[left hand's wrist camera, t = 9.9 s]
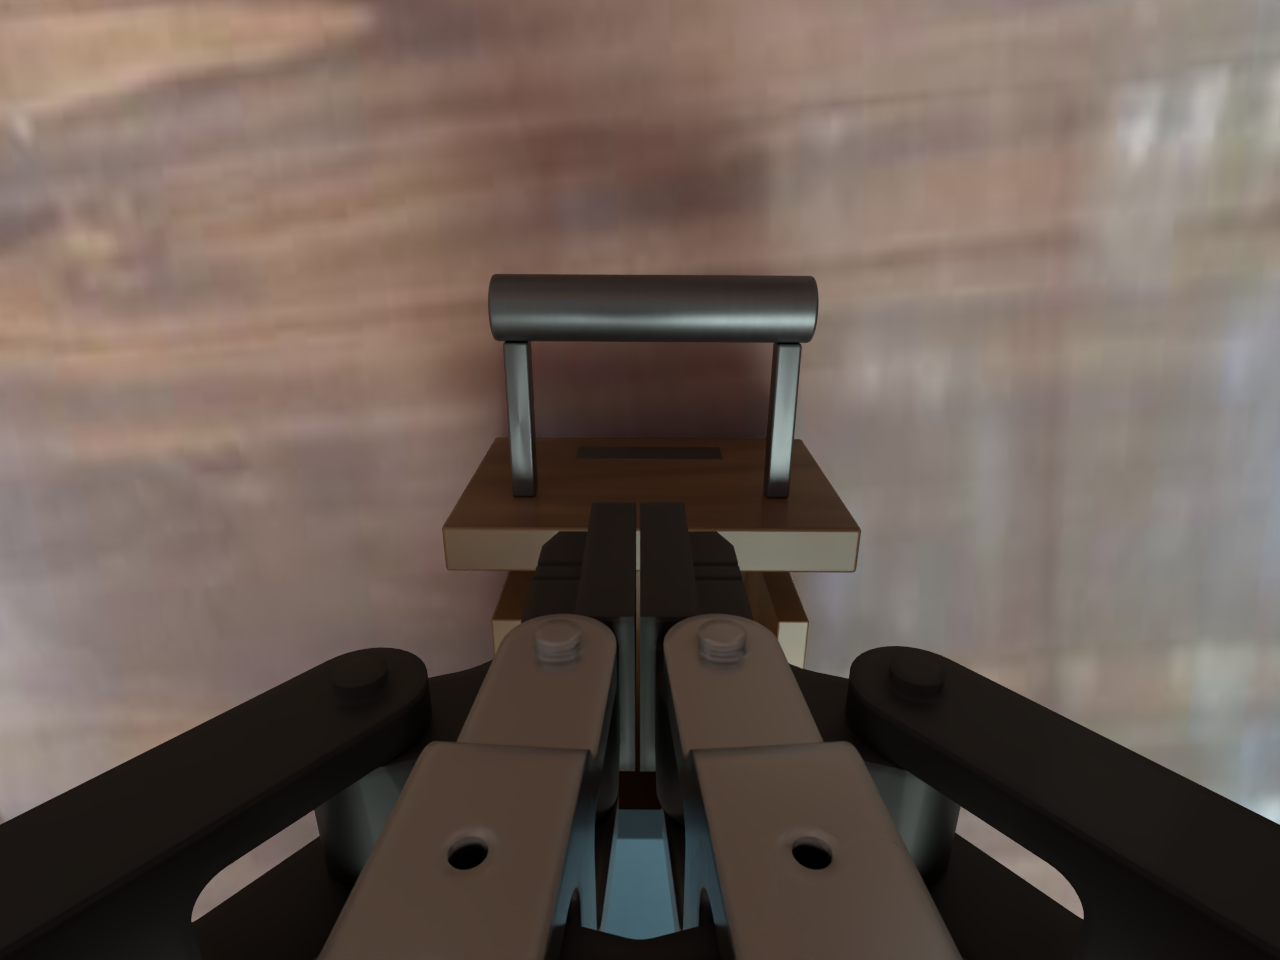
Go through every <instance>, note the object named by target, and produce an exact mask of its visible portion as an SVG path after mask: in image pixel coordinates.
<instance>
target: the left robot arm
mask: <svg viewBox="0 0 1280 960" xmlns="http://www.w3.org/2000/svg"><path fill="white" fill-rule="evenodd" d="M635 714H636V502H592V506H591V512H590V518H589V525H588V531H559V532H558V533H557V534H555V535H554V536H553V537H552V538H551V539H550V540H548V541H547V542H546V543H545V544H544V545H543V546H542V549H541V552H540V556H539V559H538V566H536V570H535V574H534V580H533V581H532V584H531V588H530V591H529V595H528V598H527V602H526V606H525V609H524V613H523V616H522V620H521V623H520V624H519V625H517V626H516V627H514V628H513V629H512V630H510V631H509V632H508V633H507V634H506V635H505V636H504V638H503V639H502V641H501V643H500V645H499V647H498V650H497V652H496V654H495V656H494V659H493V660H491V661H489V662H487V663H485V664H482V665H480V666H477V667H474V668H471V669H468V670H464V671H460V672H456V673H451V674H446V675H441V676H436V677H431V678H428V675H427V669H426V666H425V664H424V663H423V661H422V660H421V659H420V658H418V657H417V656H416V655H414V654H412V653H410V652H407V651H404V650H400V649H394V648H369V649H363V650H357V651H353V652H349V653H346V654H343V655H340V656H337V657H335V658H333V659H331V660H328V661H326V662H324V663H322V664H320V665H318V666H316V667H314V668H312V669H310V670H308V671H306V672H304V673H302V674H300V675H298V676H296V677H294V678H292V679H290V680H288V681H286V682H284V683H282V684H280V685H278V686H276V687H274V688H272V689H270V690H268V691H266V692H264V693H262V694H260V695H258V696H256V697H254V698H252V699H250V700H248V701H246V702H244V703H242V704H240V705H238V706H236V707H234V708H232V709H230V710H228V711H226V712H224V713H222V714H220V715H218V716H216V717H214V718H212V719H210V720H208V721H206V722H204V723H202V724H200V725H198V726H196V727H194V728H192V729H191V730H189V731H187V732H185V733H183V734H181V735H179V736H177V737H175V738H173V739H171V740H169V741H167V742H165V743H163V744H161V745H159V746H157V747H155V748H153V749H151V750H149V751H147V752H145V753H143V754H141V755H139V756H137V757H135V758H133V759H131V760H129V761H127V762H125V763H123V764H121V765H119V766H117V767H115V768H113V769H111V770H109V771H107V772H105V773H103V774H101V775H99V776H97V777H95V778H93V779H91V780H89V781H87V782H85V783H83V784H81V785H79V786H77V787H75V788H73V789H71V790H69V791H67V792H65V793H63V794H61V795H59V796H57V797H55V798H53V799H51V800H49V801H47V802H45V803H43V804H41V805H39V806H37V807H35V808H33V809H31V810H29V811H27V812H25V813H23V814H21V815H19V816H17V817H15V818H13V819H11V820H9V821H7V822H5V823H3V824H1V825H0V960H1280V825H1279V824H1277V823H1275V822H1273V821H1271V820H1269V819H1267V818H1265V817H1263V816H1261V815H1259V814H1257V813H1255V812H1253V811H1251V810H1249V809H1247V808H1245V807H1243V806H1241V805H1239V804H1237V803H1235V802H1233V801H1231V800H1229V799H1227V798H1225V797H1223V796H1221V795H1219V794H1217V793H1215V792H1213V791H1211V790H1209V789H1207V788H1205V787H1203V786H1201V785H1199V784H1197V783H1195V782H1193V781H1191V780H1189V779H1187V778H1185V777H1183V776H1181V775H1179V774H1177V773H1175V772H1173V771H1171V770H1169V769H1167V768H1165V767H1163V766H1161V765H1159V764H1157V763H1155V762H1153V761H1151V760H1149V759H1147V758H1145V757H1143V756H1141V755H1139V754H1137V753H1135V752H1133V751H1131V750H1129V749H1127V748H1125V747H1123V746H1121V745H1119V744H1117V743H1115V742H1113V741H1111V740H1109V739H1107V738H1105V737H1103V736H1101V735H1099V734H1097V733H1095V732H1093V731H1091V730H1089V729H1087V728H1085V727H1083V726H1081V725H1079V724H1077V723H1076V722H1074V721H1072V720H1070V719H1068V718H1066V717H1064V716H1062V715H1060V714H1058V713H1056V712H1054V711H1052V710H1050V709H1048V708H1046V707H1044V706H1042V705H1040V704H1038V703H1036V702H1034V701H1032V700H1030V699H1028V698H1026V697H1024V696H1022V695H1020V694H1018V693H1016V692H1014V691H1012V690H1010V689H1008V688H1006V687H1004V686H1002V685H1000V684H998V683H996V682H994V681H992V680H990V679H988V678H986V677H984V676H982V675H980V674H978V673H976V672H974V671H972V670H970V669H968V668H966V667H964V666H962V665H960V664H958V663H956V662H954V661H952V660H950V659H948V658H945V657H943V656H941V655H938V654H935V653H932V652H929V651H926V650H922V649H917V648H911V647H901V646H887V647H880V648H875V649H872V650H868V651H866V652H864V653H862V654H861V655H859V656H858V657H857V658H856V659H855V660H854V661H853V663H852V665H851V668H850V675H849V679H847V678H842V677H837V676H832V675H827V674H823V673H818V672H813V671H809V670H805V669H802V668H800V667H797V666H794V665H792V664H790V663H788V661H787V659H786V656H785V654H784V652H783V650H782V647H781V645H780V643H779V641H778V639H777V638H776V636H775V635H774V634H773V633H772V632H771V631H770V630H768V629H767V628H766V627H764V626H763V625H761V624H759V623H757V622H755V621H754V620H753V616H752V612H751V608H750V605H749V601H748V597H747V594H746V590H745V586H744V582H743V580H742V575H741V571H740V568H739V566H738V560H737V556H736V553H735V549H734V546H733V545H732V544H731V543H730V542H729V541H727V540H726V539H725V538H724V537H723V536H722V535H720V534H719V533H718V532H717V531H688V526H687V519H686V512H685V505H684V502H640V771H656V791H657V797H658V800H659V802H660V804H661V827H662V835H663V843H664V851H665V859H666V867H667V874H668V882H669V890H670V898H671V906H672V914H673V922H674V929H675V932H674V933H670V934H666V935H662V936H658V937H655V938H649V939H631V938H625V937H622V936H618V935H614V934H610V933H606V932H605V929H606V922H607V914H608V906H609V898H610V890H611V882H612V874H613V867H614V859H615V851H616V843H617V835H618V827H619V795H618V788H619V771H635ZM960 806H961V807H963V808H964V809H966V810H968V811H969V812H971V813H972V814H974V815H975V816H977V817H978V818H980V819H981V820H983V821H984V822H986V823H987V824H989V825H990V826H992V827H994V828H995V829H997V830H998V831H1000V832H1001V833H1003V834H1004V835H1006V836H1007V837H1009V838H1010V839H1012V840H1013V841H1015V842H1017V843H1018V844H1020V845H1021V846H1023V847H1024V848H1026V849H1027V850H1029V851H1030V852H1032V853H1033V854H1035V855H1036V856H1038V857H1040V858H1041V859H1043V860H1044V861H1046V862H1047V863H1049V864H1050V865H1051V866H1053V867H1054V868H1055V869H1057V870H1058V871H1059V872H1060V873H1061V874H1062V875H1063V876H1064V877H1065V878H1066V879H1067V880H1068V881H1069V883H1070V884H1071V885H1072V887H1073V888H1074V889H1075V891H1076V893H1077V895H1078V896H1079V899H1080V901H1081V903H1082V907H1083V911H1084V920H1083V919H1081V918H1080V917H1078V916H1076V915H1075V914H1073V913H1072V912H1070V911H1069V910H1067V909H1066V908H1065V907H1063V906H1062V905H1060V904H1059V903H1057V902H1056V901H1054V900H1053V899H1051V898H1050V897H1048V896H1047V895H1046V894H1044V893H1043V892H1041V891H1040V890H1038V889H1037V888H1035V887H1034V886H1032V885H1031V884H1030V883H1028V882H1027V881H1025V880H1024V879H1022V878H1021V877H1019V876H1018V875H1016V874H1015V873H1013V872H1012V871H1011V870H1009V869H1008V868H1006V867H1005V866H1003V865H1002V864H1000V863H999V862H997V861H996V860H995V859H993V858H992V857H990V856H989V855H987V854H986V853H984V852H983V851H981V850H980V849H978V848H977V847H976V846H974V845H973V844H971V843H970V842H968V841H967V840H965V839H964V838H962V837H961V836H959V835H958V834H957V833H955V830H956V825H957V821H958V816H959V811H960ZM312 810H315V815H316V820H317V825H318V829H319V834H320V836H319V837H318V838H316V839H315V840H313V841H312V842H310V843H309V844H307V845H306V846H304V847H303V848H302V849H300V850H299V851H297V852H296V853H294V854H293V855H291V856H290V857H288V858H287V859H285V860H284V861H283V862H281V863H280V864H278V865H277V866H275V867H274V868H272V869H271V870H269V871H268V872H267V873H265V874H264V875H262V876H261V877H259V878H258V879H256V880H255V881H253V882H252V883H250V884H249V885H248V886H246V887H245V888H243V889H242V890H240V891H239V892H237V893H236V894H234V895H233V896H231V897H230V898H229V899H227V900H226V901H224V902H223V903H221V904H220V905H218V906H217V907H215V908H214V909H213V910H211V911H210V912H208V913H207V914H205V915H204V916H202V917H201V918H199V919H198V920H196V921H194V922H191V916H192V911H193V907H194V905H195V902H196V900H197V898H198V896H199V895H200V893H201V891H202V890H203V889H204V887H205V886H206V885H207V884H208V883H209V881H210V880H211V879H212V878H213V877H214V876H215V875H217V874H218V873H219V872H220V871H221V870H223V869H224V868H225V867H227V866H228V865H230V864H231V863H233V862H234V861H236V860H237V859H239V858H240V857H242V856H244V855H245V854H247V853H248V852H250V851H251V850H253V849H254V848H256V847H257V846H259V845H260V844H262V843H263V842H265V841H267V840H268V839H270V838H271V837H273V836H274V835H276V834H277V833H279V832H280V831H282V830H283V829H285V828H286V827H288V826H289V825H291V824H293V823H294V822H296V821H297V820H299V819H300V818H302V817H303V816H305V815H306V814H308V813H309V812H311V811H312Z"/></svg>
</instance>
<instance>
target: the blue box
mask: <svg viewBox="0 0 1280 960" xmlns="http://www.w3.org/2000/svg"><path fill="white" fill-rule="evenodd" d="M605 932H606V933H610V934H614V935H618V936H622V937H625V938H631V939H649V938H655V937H658V936H662V935H666V934H670V933H674V932H675V929H674V922H673V914H672V906H671V898H670V890H669V882H668V874H667V867H666V859H665V851H664V843H663V835H662V827H661V810H636V809H619V827H618V835H617V843H616V851H615V859H614V867H613V874H612V882H611V890H610V898H609V906H608V914H607V922H606V929H605Z"/></svg>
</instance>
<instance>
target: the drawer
mask: <svg viewBox="0 0 1280 960" xmlns="http://www.w3.org/2000/svg"><path fill="white" fill-rule="evenodd" d="M488 310H489V321H490V327H491V331H492V334H493V337H494V339H495V340H497V341H505V342H504V344H503V351H504V367H505V383H506V399H507V415H508V431H509V438H496V439H495V440H494V442H493V444H492V445H491V447H490V449H489V450H488V452H487V454H486V455H485V457H484V459H483V460H482V462H481V464H480V465H479V467H478V469H477V470H476V472H475V474H474V475H473V477H472V479H471V480H470V482H469V484H468V486H467V487H466V489H465V491H464V492H463V494H462V496H461V497H460V499H459V501H458V502H457V504H456V506H455V507H454V509H453V511H452V512H451V514H450V516H449V517H448V519H447V521H446V522H445V524H444V526H443V528H442V532H443V542H444V551H445V561H446V568H447V570H486V571H509V572H508V575H507V578H506V581H505V584H504V587H503V589H502V592H501V595H500V598H499V601H498V604H497V607H496V609H495V612H494V615H493V618H492V631H493V644H494V656H495V654H496V652H497V650H498V647H499V645H500V643H501V641H502V639H503V638H504V636H505V635H506V634H507V633H508V632H509V631H510V630H512V629H513V628H514V627H516V626H517V625H519V624H520V623H521V620H522V616H523V613H524V609H525V606H526V602H527V598H528V595H529V591H530V588H531V584H532V581H533V580H534V574H535V570H536V566H538V559H539V556H540V552H541V549H542V546H543V545H544V544H545V543H546V542H547V541H548V540H550V539H551V538H552V537H553V536H554V535H555V534H557V533H558V532H559V531H588V525H589V518H590V512H591V506H592V502H636V714H635V771H619V788H618V795H619V809H636V810H661V804H660V802H659V800H658V797H657V791H656V771H640V502H684V505H685V512H686V519H687V526H688V531H717V532H718V533H719V534H720V535H722V536H723V537H724V538H725V539H726V540H727V541H729V542H730V543H731V544H732V545H733V546H734V549H735V553H736V556H737V560H738V566H739V568H740V571H741V575H742V580H743V582H744V586H745V590H746V594H747V597H748V601H749V605H750V608H751V612H752V616H753V620H754V621H755V622H757V623H759V624H761V625H763V626H764V627H766V628H767V629H768V630H770V631H771V632H772V633H773V634H774V635H775V636H776V638H777V639H778V641H779V643H780V645H781V647H782V650H783V652H784V654H785V656H786V659H787V661H788V663H790V664H792V665H794V666H797V667H800V668H802V669H804V664H805V654H806V644H807V635H808V625H809V621H808V618H807V616H806V613H805V611H804V608H803V606H802V603H801V601H800V598H799V596H798V593H797V591H796V588H795V586H794V583H793V581H792V578H791V576H790V573H789V572H855V570H856V566H857V558H858V550H859V542H860V535H861V530H860V528H859V526H858V525H857V523H856V522H855V520H854V519H853V517H852V515H851V514H850V512H849V511H848V509H847V508H846V506H845V505H844V503H843V502H842V500H841V499H840V497H839V496H838V494H837V493H836V491H835V490H834V488H833V487H832V485H831V484H830V482H829V481H828V479H827V478H826V476H825V475H824V473H823V472H822V470H821V469H820V467H819V466H818V464H817V463H816V461H815V460H814V458H813V457H812V455H811V454H810V452H809V451H808V449H807V448H806V446H805V445H804V443H803V442H802V440H800V439H794V430H795V419H796V407H797V396H798V384H799V373H800V361H801V349H802V346H801V344H800V343H807V342H810V341H811V339H812V337H813V335H814V332H815V329H816V324H817V317H818V289H817V284H816V281H815V279H814V277H812V276H733V275H564V274H495V275H493V276H492V277H491V280H490V285H489V293H488ZM531 341H594V342H768V343H774V344H773V358H772V372H771V386H770V400H769V413H768V427H767V439H650V438H535V417H534V397H533V376H532V356H531Z"/></svg>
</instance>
